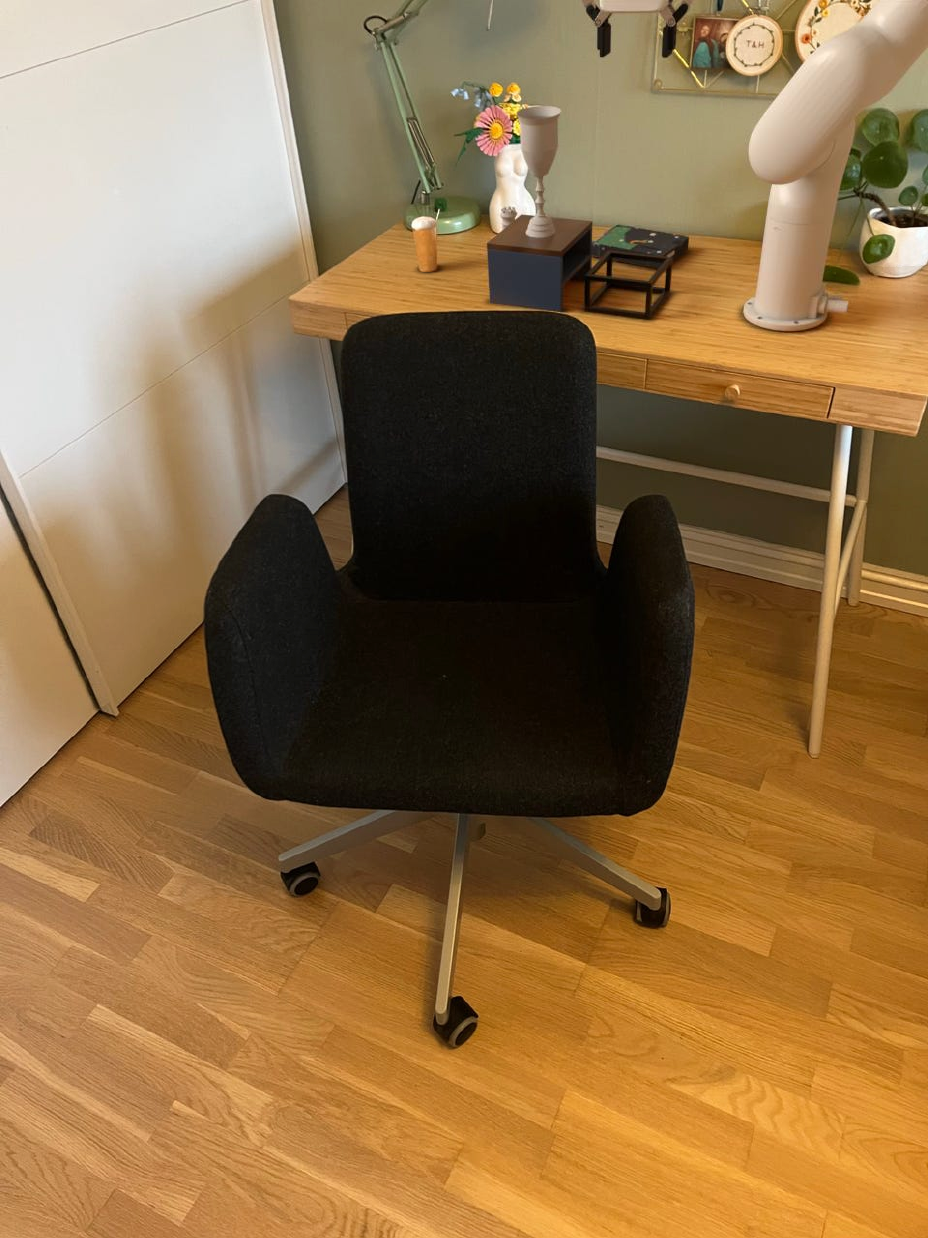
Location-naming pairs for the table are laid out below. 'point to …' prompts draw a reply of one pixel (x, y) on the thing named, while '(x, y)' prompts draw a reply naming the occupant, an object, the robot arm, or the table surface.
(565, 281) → the shelf
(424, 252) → the milkshake
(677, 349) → the table surface
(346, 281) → the table surface
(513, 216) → the rook chess piece
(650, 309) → the cup rack
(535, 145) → the chalice
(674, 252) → the disk drive
